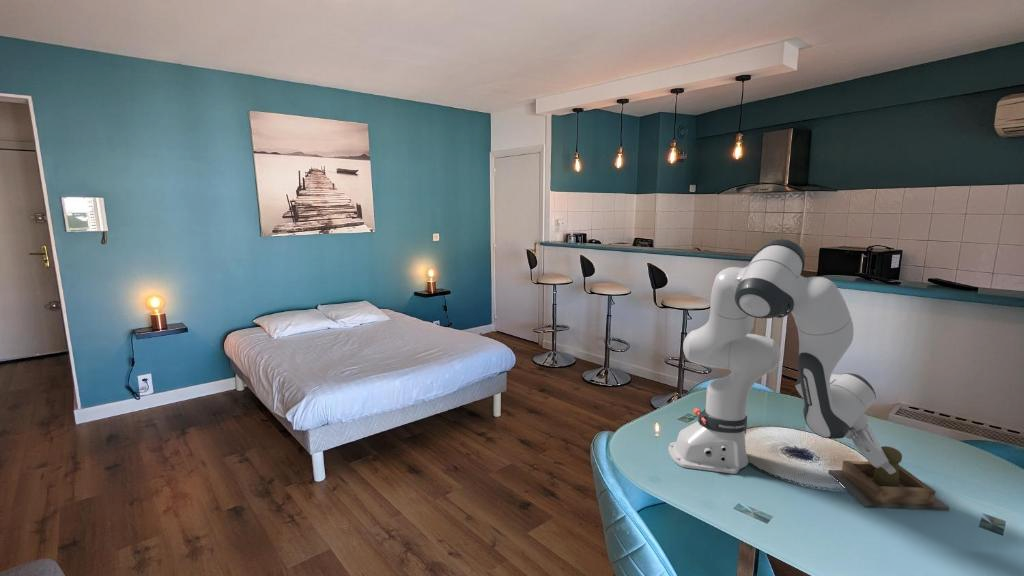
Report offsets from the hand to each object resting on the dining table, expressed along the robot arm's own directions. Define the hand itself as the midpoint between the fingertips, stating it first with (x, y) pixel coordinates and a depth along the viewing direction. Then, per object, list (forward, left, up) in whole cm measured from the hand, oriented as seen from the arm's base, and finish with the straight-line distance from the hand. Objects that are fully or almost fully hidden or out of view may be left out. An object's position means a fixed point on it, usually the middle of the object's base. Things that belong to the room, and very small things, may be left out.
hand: (888, 463), depth 127 cm
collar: (0, 0, -8) cm, 8 cm away
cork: (0, 0, -7) cm, 7 cm away
